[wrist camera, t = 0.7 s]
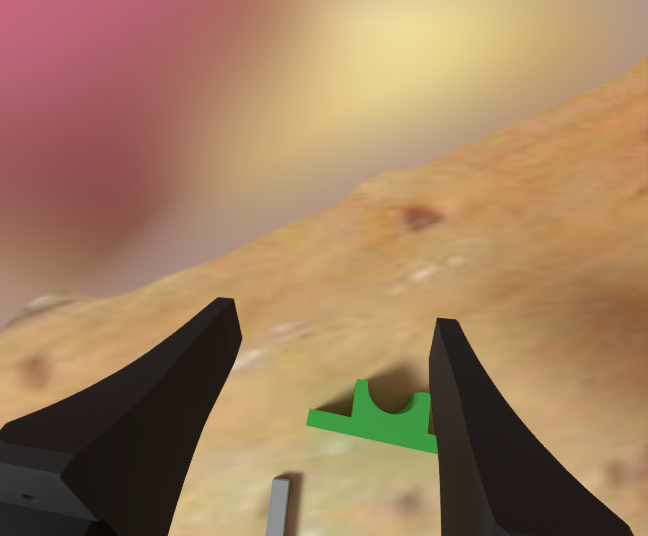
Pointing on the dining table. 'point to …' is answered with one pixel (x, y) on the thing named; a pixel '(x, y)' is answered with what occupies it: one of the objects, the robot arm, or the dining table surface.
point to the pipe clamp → (382, 421)
